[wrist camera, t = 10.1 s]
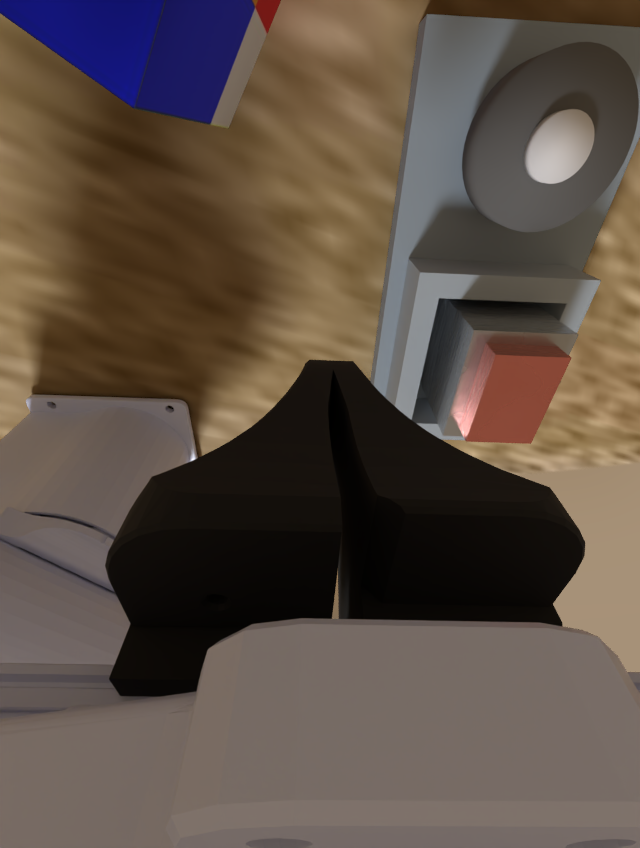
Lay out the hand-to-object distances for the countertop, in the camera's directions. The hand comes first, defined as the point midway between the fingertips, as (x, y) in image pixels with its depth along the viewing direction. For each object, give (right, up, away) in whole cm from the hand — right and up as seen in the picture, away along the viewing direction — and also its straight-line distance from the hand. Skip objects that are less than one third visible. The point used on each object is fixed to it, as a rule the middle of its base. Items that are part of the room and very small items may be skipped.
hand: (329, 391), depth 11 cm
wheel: (+8, +9, +3) cm, 13 cm away
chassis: (+8, +7, +8) cm, 13 cm away
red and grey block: (+7, +3, +9) cm, 12 cm away
